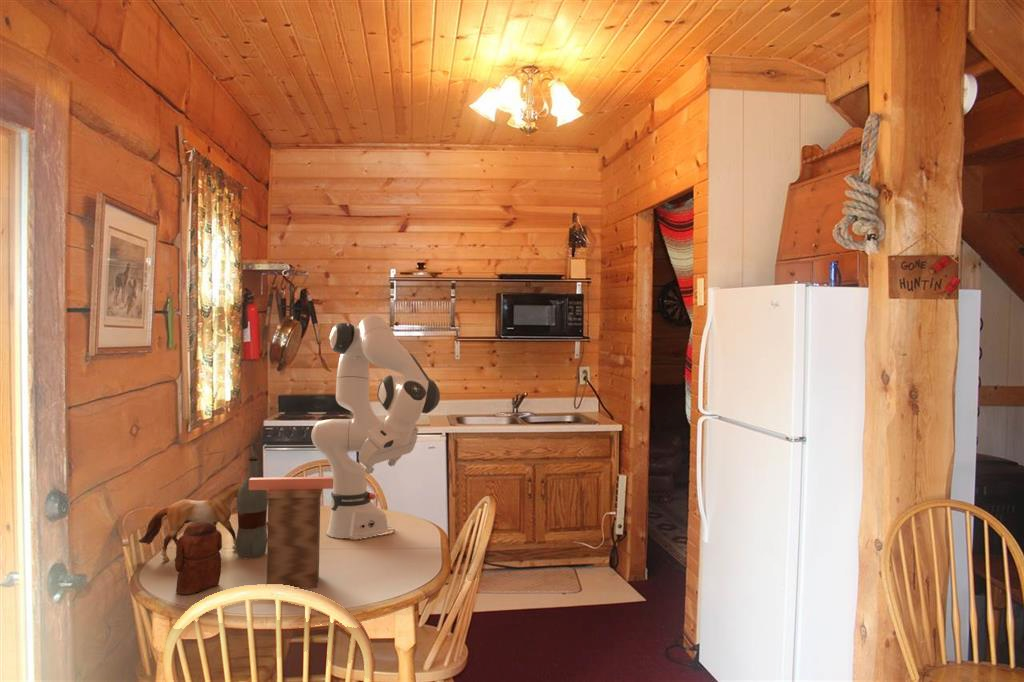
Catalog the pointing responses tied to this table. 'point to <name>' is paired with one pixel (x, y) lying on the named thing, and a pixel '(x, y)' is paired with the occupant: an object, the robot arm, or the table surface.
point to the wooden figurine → (198, 557)
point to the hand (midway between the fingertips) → (379, 468)
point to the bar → (290, 483)
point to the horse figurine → (194, 515)
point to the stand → (293, 537)
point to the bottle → (251, 517)
